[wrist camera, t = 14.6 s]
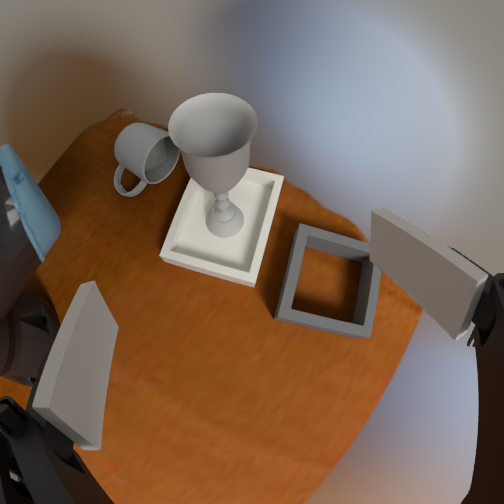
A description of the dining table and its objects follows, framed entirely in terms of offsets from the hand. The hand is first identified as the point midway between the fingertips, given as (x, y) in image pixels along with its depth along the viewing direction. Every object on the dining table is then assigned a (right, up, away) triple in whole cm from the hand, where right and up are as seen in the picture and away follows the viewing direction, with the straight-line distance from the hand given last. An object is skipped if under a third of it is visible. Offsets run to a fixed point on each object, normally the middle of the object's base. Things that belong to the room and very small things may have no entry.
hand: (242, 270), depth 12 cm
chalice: (-3, +5, +24) cm, 25 cm away
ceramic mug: (-16, +13, +27) cm, 34 cm away
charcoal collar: (+10, -4, +23) cm, 25 cm away
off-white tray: (-3, +5, +25) cm, 26 cm away
